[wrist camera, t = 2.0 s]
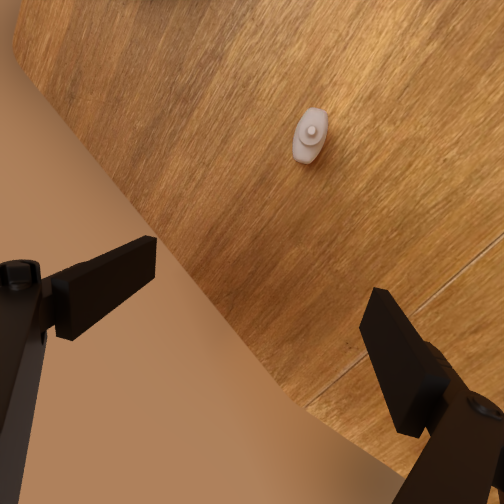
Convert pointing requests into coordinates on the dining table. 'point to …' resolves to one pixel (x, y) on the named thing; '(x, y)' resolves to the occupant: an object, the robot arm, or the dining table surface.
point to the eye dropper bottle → (310, 135)
